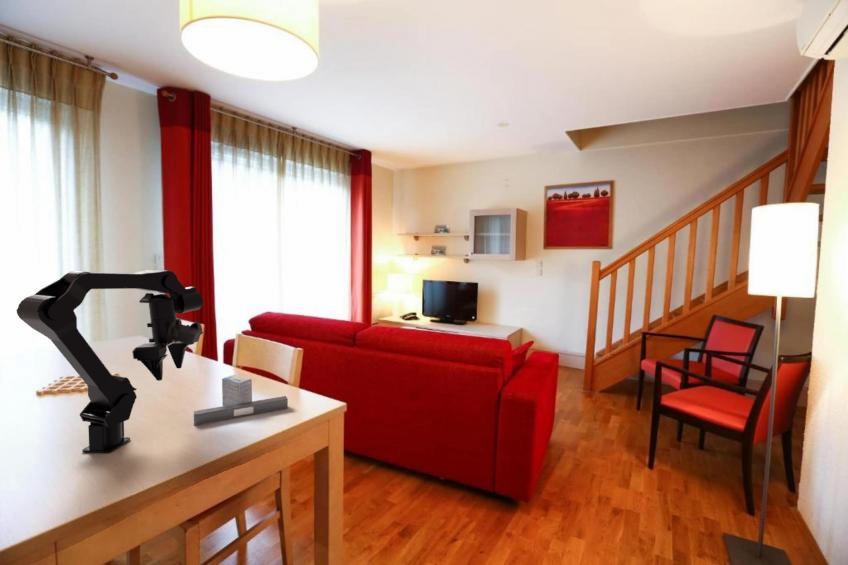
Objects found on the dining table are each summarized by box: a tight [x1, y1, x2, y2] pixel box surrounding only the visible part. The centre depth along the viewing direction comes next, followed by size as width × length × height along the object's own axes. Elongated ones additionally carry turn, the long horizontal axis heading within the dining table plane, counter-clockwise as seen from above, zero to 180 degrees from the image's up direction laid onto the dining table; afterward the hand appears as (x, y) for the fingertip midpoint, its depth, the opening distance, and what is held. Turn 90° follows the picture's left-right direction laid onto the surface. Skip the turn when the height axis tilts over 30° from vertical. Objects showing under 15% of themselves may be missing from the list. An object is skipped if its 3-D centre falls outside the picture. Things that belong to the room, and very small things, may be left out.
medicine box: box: [221, 374, 253, 406], centre depth 117 cm, size 8×4×9 cm, turn 62°
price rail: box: [193, 395, 289, 426], centre depth 111 cm, size 24×3×3 cm, turn 123°
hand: (169, 374), depth 106 cm, fingers open, 9 cm apart
